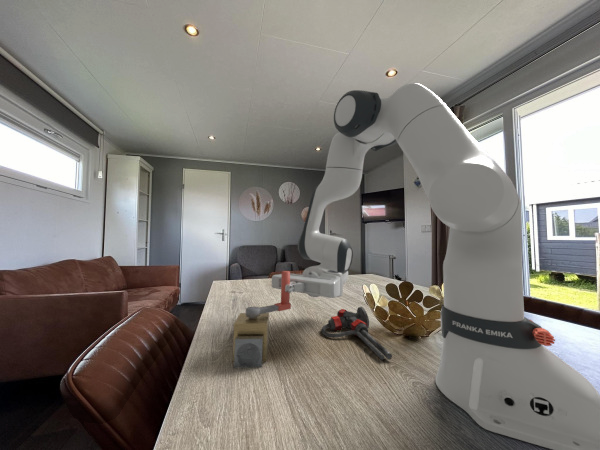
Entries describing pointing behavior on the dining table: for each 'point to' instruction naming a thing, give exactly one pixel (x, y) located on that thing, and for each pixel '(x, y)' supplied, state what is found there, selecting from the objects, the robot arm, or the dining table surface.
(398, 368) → the dining table surface
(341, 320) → the valve
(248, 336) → the lever valve base
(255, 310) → the lever
